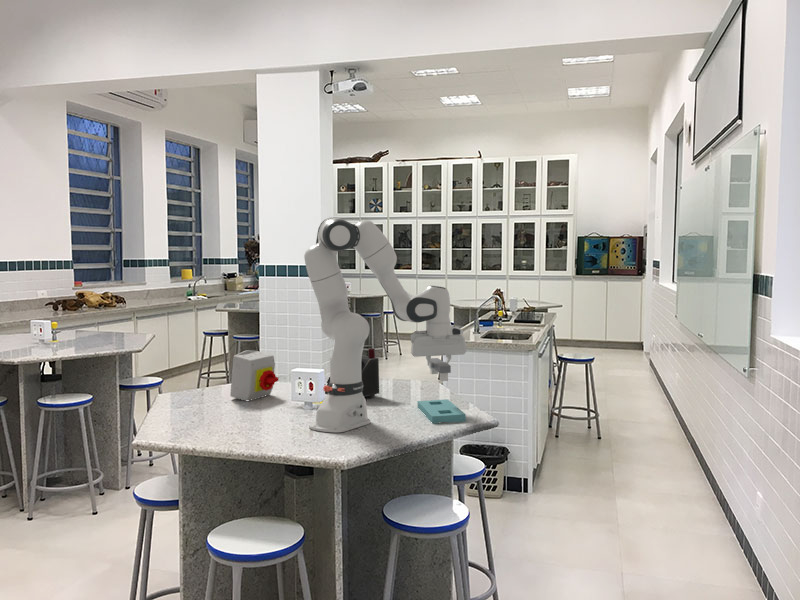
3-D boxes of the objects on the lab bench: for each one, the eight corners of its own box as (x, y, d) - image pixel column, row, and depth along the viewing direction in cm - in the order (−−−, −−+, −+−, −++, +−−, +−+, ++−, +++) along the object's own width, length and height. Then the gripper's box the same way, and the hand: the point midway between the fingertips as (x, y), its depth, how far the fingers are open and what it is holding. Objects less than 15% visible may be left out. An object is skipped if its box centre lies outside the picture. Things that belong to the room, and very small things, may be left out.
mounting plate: (465, 421, 222) (465, 414, 222) (432, 423, 220) (432, 416, 220) (447, 405, 246) (447, 399, 246) (417, 407, 244) (417, 401, 243)
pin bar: (450, 381, 225) (450, 365, 224) (439, 381, 224) (439, 366, 224) (437, 372, 242) (437, 358, 242) (427, 372, 242) (427, 358, 241)
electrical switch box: (256, 408, 256) (260, 360, 254) (229, 399, 264) (233, 352, 261) (280, 401, 269) (284, 355, 266) (254, 392, 276) (258, 347, 274)
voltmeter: (324, 397, 265) (323, 349, 264) (355, 391, 276) (354, 345, 275) (348, 403, 253) (346, 353, 252) (379, 396, 264) (378, 349, 263)
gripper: (412, 332, 227) (412, 370, 228) (467, 330, 231) (467, 367, 232) (408, 330, 233) (409, 367, 234) (462, 328, 237) (462, 364, 238)
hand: (438, 367), depth 233 cm, fingers closed on pin bar, 4 cm apart
